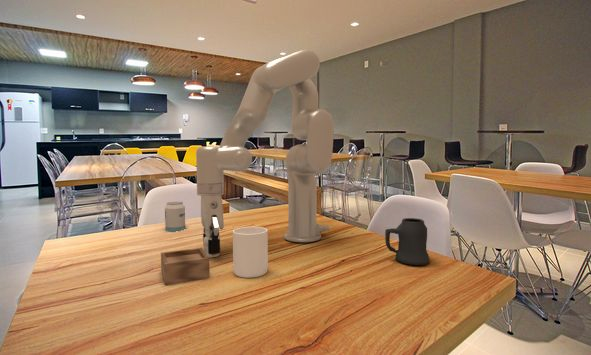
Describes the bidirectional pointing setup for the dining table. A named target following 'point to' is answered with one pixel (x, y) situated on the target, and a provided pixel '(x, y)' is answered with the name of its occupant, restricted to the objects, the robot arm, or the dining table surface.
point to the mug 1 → (250, 251)
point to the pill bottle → (207, 245)
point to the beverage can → (174, 216)
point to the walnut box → (184, 266)
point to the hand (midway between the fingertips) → (211, 249)
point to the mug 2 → (410, 242)
